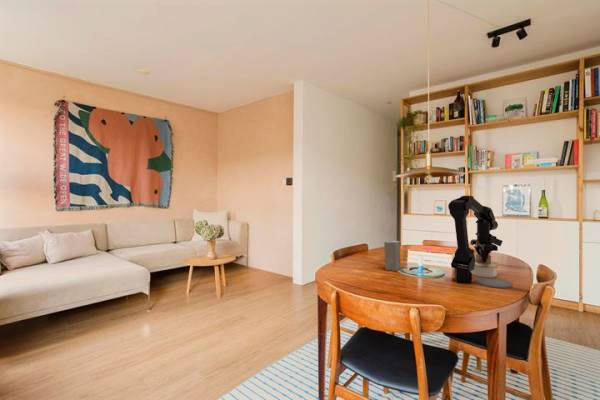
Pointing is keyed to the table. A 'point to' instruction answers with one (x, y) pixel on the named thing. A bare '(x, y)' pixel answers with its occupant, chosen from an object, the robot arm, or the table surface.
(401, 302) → the table surface
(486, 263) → the lid
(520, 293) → the table surface
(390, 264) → the skincare box
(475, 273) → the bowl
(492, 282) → the mat
